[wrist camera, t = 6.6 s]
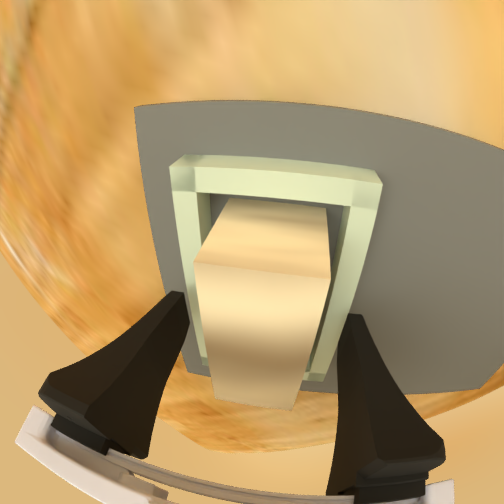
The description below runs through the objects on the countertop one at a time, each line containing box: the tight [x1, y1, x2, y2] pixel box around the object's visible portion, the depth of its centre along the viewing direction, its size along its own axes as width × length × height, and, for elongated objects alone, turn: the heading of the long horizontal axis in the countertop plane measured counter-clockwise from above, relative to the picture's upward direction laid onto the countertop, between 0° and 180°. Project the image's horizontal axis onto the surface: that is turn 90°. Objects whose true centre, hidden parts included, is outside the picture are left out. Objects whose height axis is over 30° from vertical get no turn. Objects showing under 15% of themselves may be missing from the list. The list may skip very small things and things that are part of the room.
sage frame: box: [169, 155, 383, 382], centre depth 14 cm, size 8×13×2 cm, turn 179°
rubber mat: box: [134, 100, 504, 394], centre depth 14 cm, size 26×19×1 cm
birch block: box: [193, 198, 331, 411], centre depth 13 cm, size 9×4×4 cm, turn 179°
